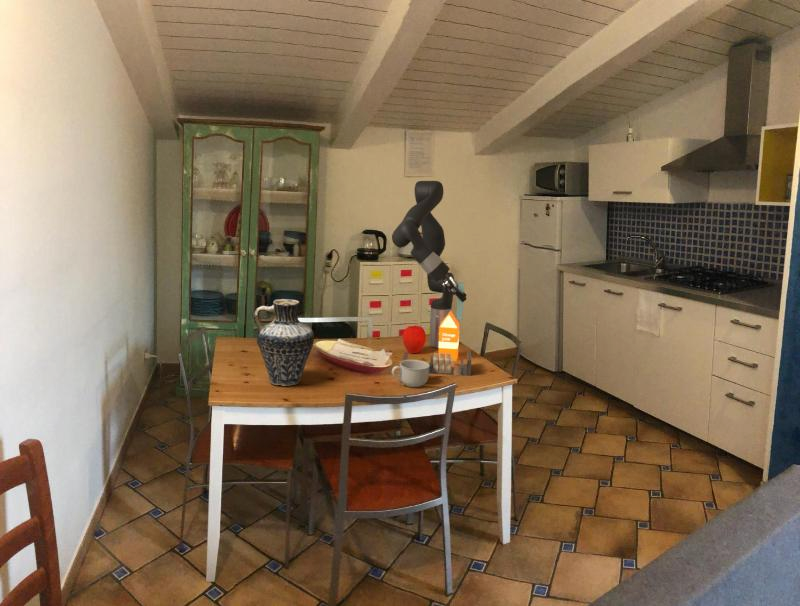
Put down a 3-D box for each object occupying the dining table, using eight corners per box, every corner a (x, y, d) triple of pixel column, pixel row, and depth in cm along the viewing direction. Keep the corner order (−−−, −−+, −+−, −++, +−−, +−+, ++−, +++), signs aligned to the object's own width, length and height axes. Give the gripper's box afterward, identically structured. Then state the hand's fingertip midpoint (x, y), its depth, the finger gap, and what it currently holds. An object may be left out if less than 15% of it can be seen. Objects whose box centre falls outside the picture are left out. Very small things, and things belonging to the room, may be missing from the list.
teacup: (424, 380, 247) (425, 359, 246) (432, 389, 237) (433, 367, 236) (387, 381, 244) (388, 360, 243) (393, 390, 234) (394, 368, 233)
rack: (401, 374, 253) (401, 356, 252) (404, 364, 267) (404, 347, 265) (470, 378, 251) (471, 360, 250) (469, 367, 265) (470, 350, 263)
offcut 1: (432, 372, 254) (433, 359, 253) (433, 365, 264) (434, 352, 263) (438, 372, 254) (438, 359, 253) (438, 365, 263) (439, 353, 263)
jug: (303, 372, 252) (303, 294, 246) (321, 387, 235) (322, 303, 229) (248, 379, 242) (247, 297, 237) (263, 395, 226) (262, 307, 220)
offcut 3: (444, 372, 253) (445, 360, 253) (445, 365, 263) (446, 353, 262) (450, 373, 253) (450, 360, 252) (450, 365, 263) (451, 353, 262)
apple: (417, 357, 278) (418, 328, 276) (397, 353, 284) (398, 325, 281) (429, 352, 286) (430, 324, 284) (410, 348, 292) (411, 321, 290)
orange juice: (458, 357, 279) (460, 310, 276) (456, 363, 271) (458, 315, 267) (439, 356, 280) (441, 309, 277) (437, 362, 272) (439, 313, 268)
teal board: (456, 319, 251) (458, 285, 249) (456, 315, 257) (458, 282, 255) (462, 319, 251) (463, 285, 249) (462, 316, 257) (463, 282, 255)
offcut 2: (438, 372, 254) (439, 359, 253) (439, 365, 263) (440, 353, 262) (444, 372, 253) (444, 360, 252) (444, 365, 263) (445, 353, 262)
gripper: (441, 262, 244) (472, 295, 245) (442, 257, 258) (472, 289, 259) (426, 276, 245) (457, 309, 246) (428, 270, 259) (457, 302, 260)
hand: (464, 298), depth 253 cm, fingers closed on teal board, 6 cm apart
